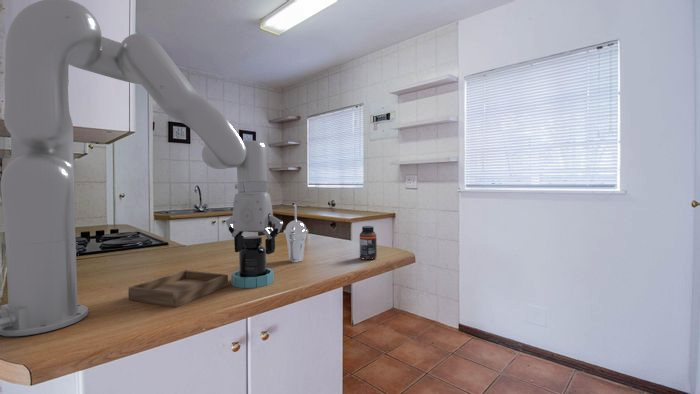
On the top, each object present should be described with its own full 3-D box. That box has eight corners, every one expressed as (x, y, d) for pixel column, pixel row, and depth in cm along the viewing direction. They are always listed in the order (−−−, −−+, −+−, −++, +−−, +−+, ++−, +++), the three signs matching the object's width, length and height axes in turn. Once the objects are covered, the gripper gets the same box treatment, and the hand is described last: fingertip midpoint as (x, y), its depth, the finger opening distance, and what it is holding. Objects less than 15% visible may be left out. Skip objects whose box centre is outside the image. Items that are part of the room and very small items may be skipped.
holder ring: (257, 289, 81) (257, 279, 81) (223, 285, 85) (222, 275, 85) (280, 278, 91) (280, 269, 91) (248, 274, 95) (248, 266, 95)
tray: (176, 307, 70) (175, 294, 70) (128, 299, 74) (128, 287, 74) (228, 285, 85) (227, 274, 85) (185, 280, 89) (185, 270, 89)
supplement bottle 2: (368, 255, 120) (368, 225, 119) (380, 258, 115) (380, 226, 115) (356, 258, 116) (356, 226, 116) (367, 261, 112) (367, 228, 111)
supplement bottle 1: (271, 280, 90) (271, 236, 89) (254, 287, 83) (253, 240, 83) (251, 277, 93) (251, 234, 92) (233, 283, 86) (233, 238, 86)
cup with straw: (313, 259, 114) (313, 201, 113) (298, 265, 106) (298, 203, 105) (293, 257, 118) (293, 201, 117) (277, 262, 110) (276, 202, 109)
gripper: (216, 188, 87) (218, 253, 87) (272, 188, 81) (274, 257, 82) (235, 188, 94) (237, 247, 95) (288, 187, 88) (290, 251, 89)
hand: (254, 252), depth 88 cm, fingers open, 9 cm apart
